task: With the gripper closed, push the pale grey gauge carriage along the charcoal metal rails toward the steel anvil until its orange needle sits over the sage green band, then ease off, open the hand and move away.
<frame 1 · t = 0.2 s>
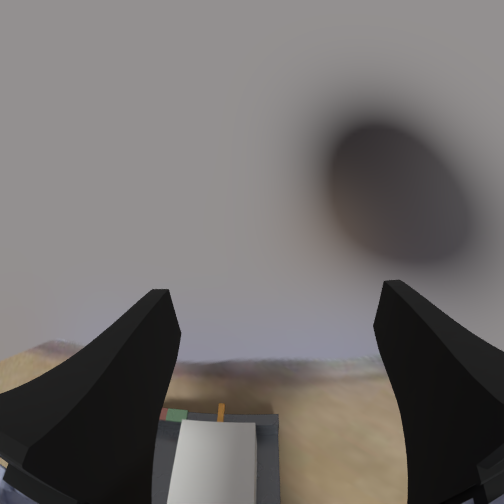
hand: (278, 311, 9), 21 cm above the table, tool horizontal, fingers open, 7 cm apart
gauge carriage: (217, 475, 17), point 4 cm above the table, slide at 0.0 cm
gauge frame: (179, 492, 18), on the table
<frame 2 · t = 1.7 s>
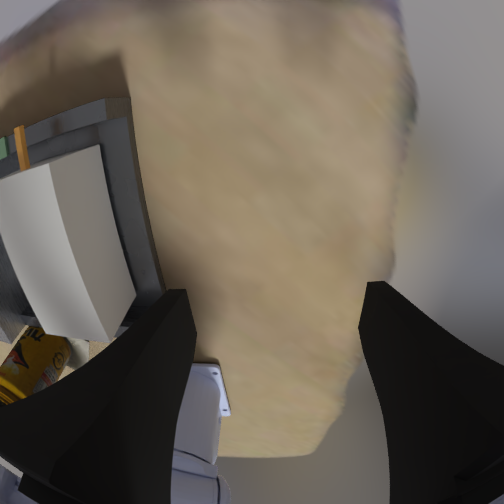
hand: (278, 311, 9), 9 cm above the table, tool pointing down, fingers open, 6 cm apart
gauge carriage: (56, 228, 15), point 4 cm above the table, slide at 0.0 cm
condiment: (58, 341, 26), on the table
gauge frame: (52, 227, 19), on the table
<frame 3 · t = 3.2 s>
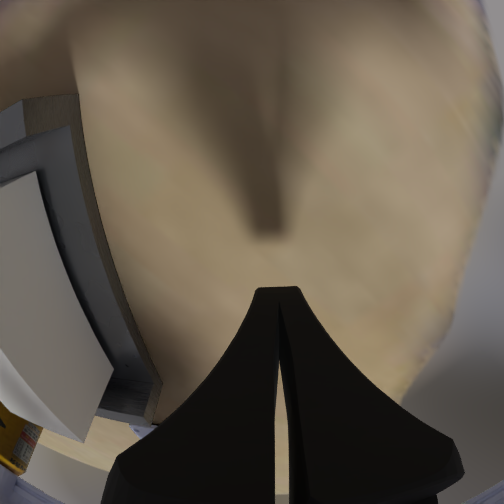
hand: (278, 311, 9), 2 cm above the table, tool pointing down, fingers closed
condiment: (38, 389, 20), on the table
gauge frame: (5, 275, 12), on the table
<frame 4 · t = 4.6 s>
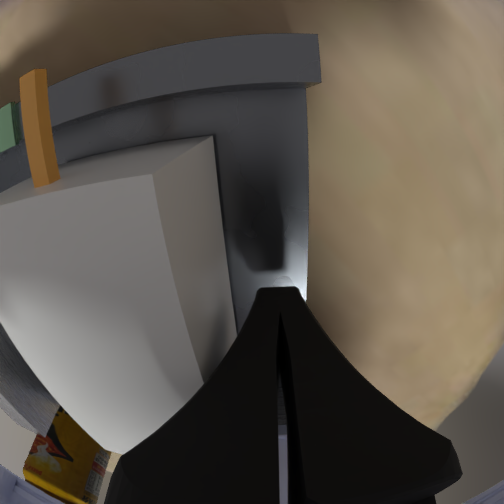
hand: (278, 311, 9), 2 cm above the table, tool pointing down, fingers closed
gauge carriage: (121, 305, 8), point 4 cm above the table, slide at 0.8 cm, touching gripper
condiment: (100, 407, 19), on the table
gauge frame: (102, 276, 12), on the table
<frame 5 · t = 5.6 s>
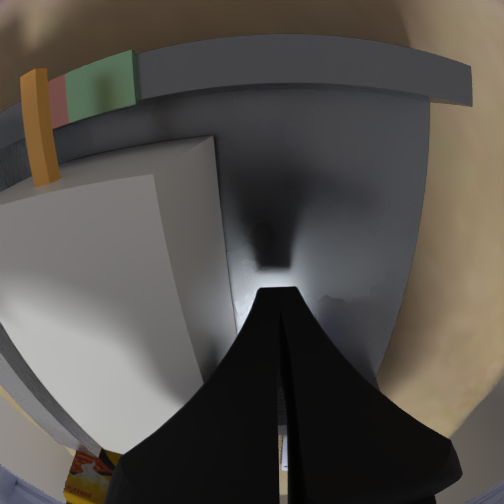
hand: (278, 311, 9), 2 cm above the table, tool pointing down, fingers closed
gauge carriage: (121, 305, 8), point 4 cm above the table, slide at 5.2 cm, touching gripper
condiment: (143, 415, 19), on the table
gauge frame: (189, 274, 12), on the table
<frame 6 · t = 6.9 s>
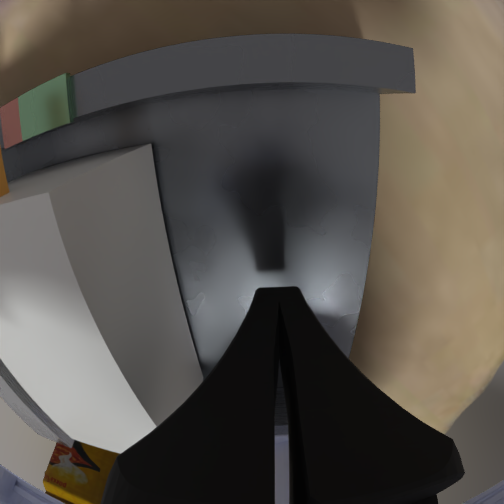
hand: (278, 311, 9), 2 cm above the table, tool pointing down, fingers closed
gauge carriage: (73, 302, 8), point 4 cm above the table, slide at 5.2 cm
condiment: (122, 411, 19), on the table
gauge frame: (145, 275, 12), on the table
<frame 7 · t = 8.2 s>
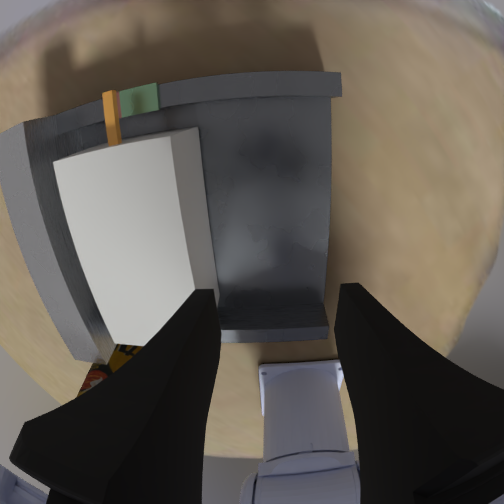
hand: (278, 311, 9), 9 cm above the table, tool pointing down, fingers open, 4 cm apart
gauge carriage: (142, 219, 14), point 4 cm above the table, slide at 5.2 cm
condiment: (144, 352, 25), on the table
gauge frame: (184, 214, 18), on the table
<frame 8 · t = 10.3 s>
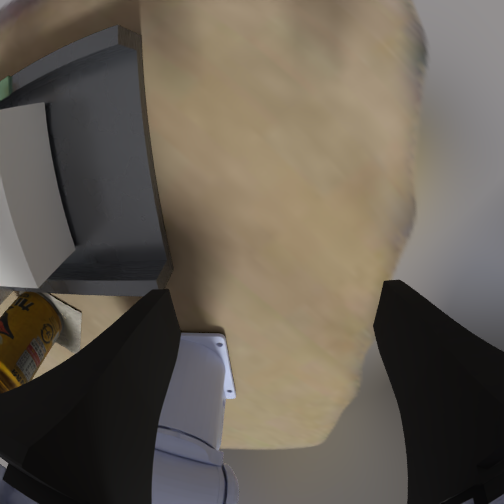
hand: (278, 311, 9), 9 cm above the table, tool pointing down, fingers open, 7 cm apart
gauge carriage: (4, 179, 13), point 4 cm above the table, slide at 5.2 cm
condiment: (49, 315, 24), on the table
gauge frame: (48, 178, 17), on the table
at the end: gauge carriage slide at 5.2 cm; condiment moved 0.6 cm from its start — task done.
